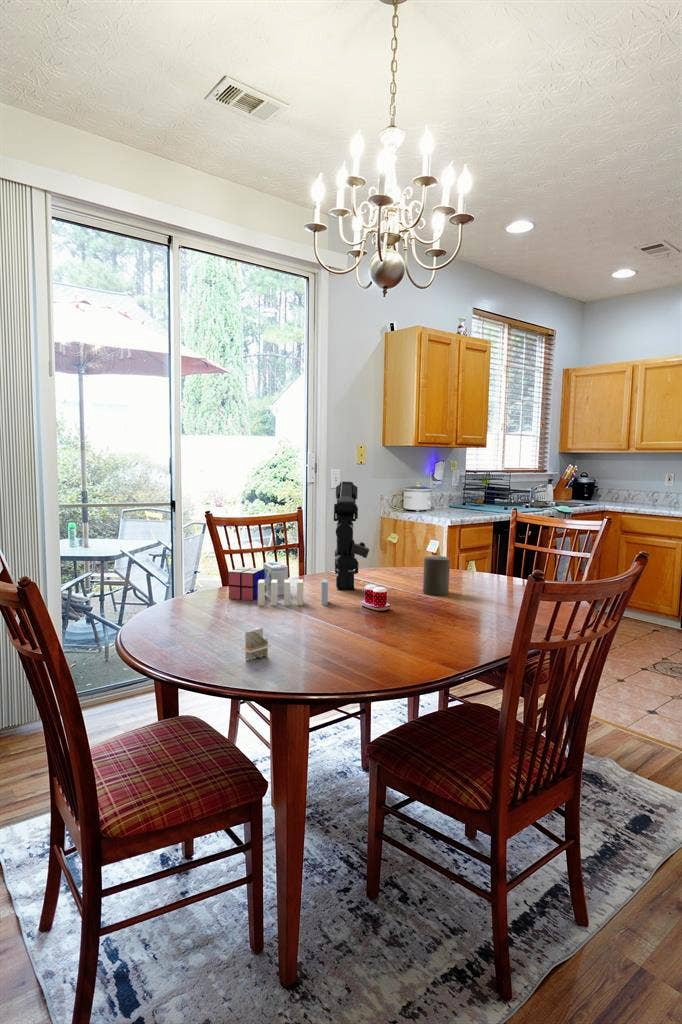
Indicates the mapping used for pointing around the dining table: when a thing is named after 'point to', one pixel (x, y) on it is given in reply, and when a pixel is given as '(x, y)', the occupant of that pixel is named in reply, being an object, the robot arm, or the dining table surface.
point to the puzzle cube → (245, 583)
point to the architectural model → (255, 644)
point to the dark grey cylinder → (436, 575)
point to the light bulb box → (275, 576)
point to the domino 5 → (324, 592)
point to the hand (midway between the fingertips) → (344, 580)
